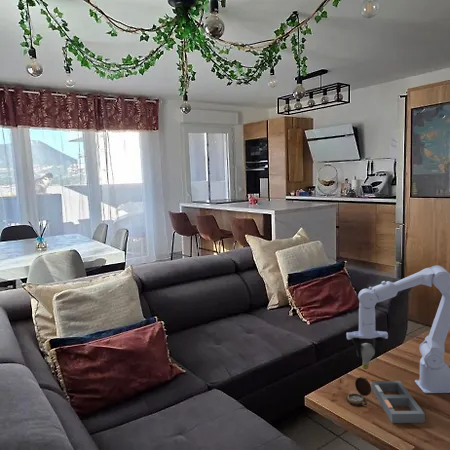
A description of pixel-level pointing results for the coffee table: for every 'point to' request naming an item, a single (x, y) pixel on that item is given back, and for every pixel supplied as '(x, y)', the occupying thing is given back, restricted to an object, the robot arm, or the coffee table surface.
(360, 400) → the compass
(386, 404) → the socket block
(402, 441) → the coffee table surface
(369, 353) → the light bulb
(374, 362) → the coffee table surface
